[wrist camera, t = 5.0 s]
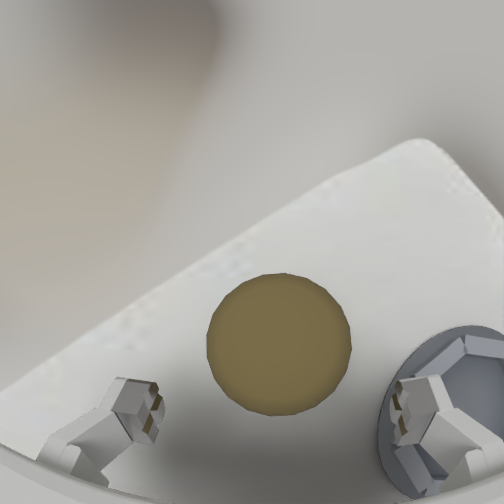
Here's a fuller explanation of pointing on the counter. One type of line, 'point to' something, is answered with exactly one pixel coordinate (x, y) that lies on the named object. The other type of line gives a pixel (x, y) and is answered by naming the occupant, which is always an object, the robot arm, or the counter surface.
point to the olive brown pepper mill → (278, 344)
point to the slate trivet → (460, 393)
